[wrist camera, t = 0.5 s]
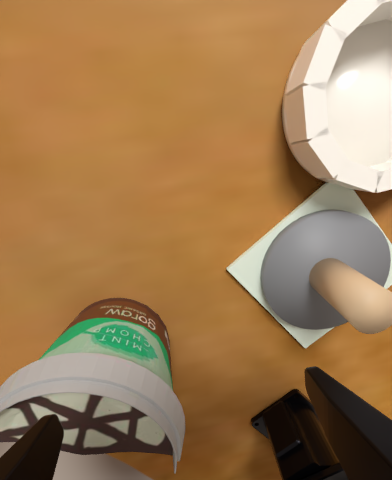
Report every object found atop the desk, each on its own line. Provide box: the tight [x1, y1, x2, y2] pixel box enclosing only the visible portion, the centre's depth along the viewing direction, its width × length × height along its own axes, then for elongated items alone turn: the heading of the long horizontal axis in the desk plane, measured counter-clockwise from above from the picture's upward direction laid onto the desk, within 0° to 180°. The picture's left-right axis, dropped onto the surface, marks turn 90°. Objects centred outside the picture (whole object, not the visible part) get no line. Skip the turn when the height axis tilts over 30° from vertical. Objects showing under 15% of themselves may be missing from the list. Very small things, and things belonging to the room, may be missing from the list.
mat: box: [227, 182, 392, 348], centre depth 22 cm, size 12×12×1 cm
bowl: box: [282, 0, 392, 193], centre depth 17 cm, size 12×12×4 cm
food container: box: [0, 298, 185, 473], centre depth 18 cm, size 12×6×10 cm, turn 78°
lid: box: [260, 210, 392, 334], centre depth 19 cm, size 11×11×6 cm
